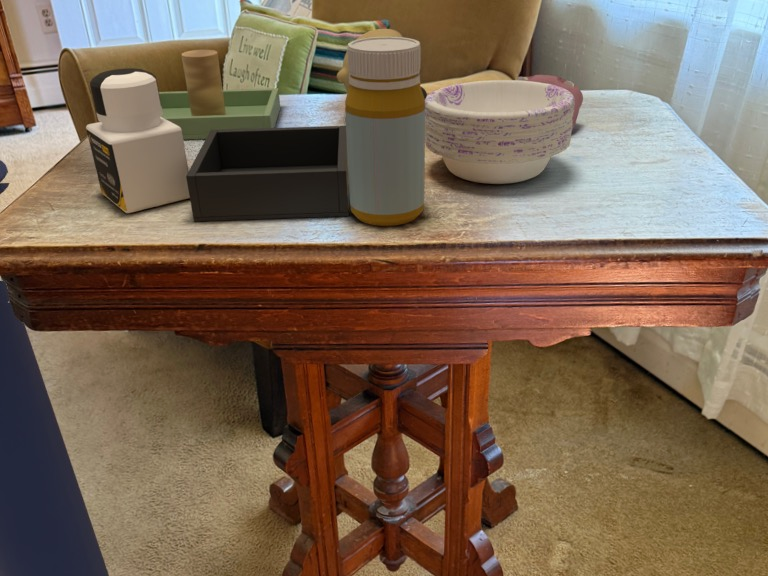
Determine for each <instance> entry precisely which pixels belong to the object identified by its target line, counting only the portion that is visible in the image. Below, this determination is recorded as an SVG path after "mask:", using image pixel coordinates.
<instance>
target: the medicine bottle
mask: <svg viewBox="0 0 768 576" xmlns="http://www.w3.org/2000/svg"><path fill="white" fill-rule="evenodd" d="M89 87H90V93H91V95H92V101H93V104H94V109H95V112H96V113H95V114H96V118H97V120H98V121H97V122H93V123H89V124H87V125H86V126H85V131H86V134H87V139H88V142H89V147H90V151H91V155H92V159H93V163H94V167H95V171H96V175H97V179H98V183H99V187H100V192H101V194H102V195H103V196H104V197H106V199H108V200H109V201H111V202H112V204H114V205H115V206H117V207H118V208H119V209H120V210H122V211H123V212H124V213H125V214H132V213H135V212H139V211H140V212H141V211H143V210H147V209H151V208H154V207H155V208H156V207H160V206H164V205H168V204H172V203H176V202H180V201H184V200H187V199H190V196H189V190H188V185H187V179H186V175H187V174H188V172H189V170H190V168H189V163H188V158H187V154H186V147H185V140H183V135H182V130H181V128H180V127H179V126H177V125H175V124H173V123H172V122H170V121H168V120H166V119H164V118H162V117H160V116H162V114H163V112H162V106H161V101H160V95H159V92H160V90H159V85H158V80H157V77H156V75H154V73H152V72H150V71H148V70H145V69H142V68H136V67H135V68H134V67H133V68H132V67H130V68H128V67H127V68H116V69H109V70H106V71H103V72H99V73H98V74H96V75H95V76H94V77H93V78H91V80H90V82H89Z"/></svg>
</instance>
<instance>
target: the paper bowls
mask: <svg viewBox="0 0 768 576" xmlns="http://www.w3.org/2000/svg"><path fill="white" fill-rule="evenodd" d="M574 105H575V103H574V96H573V95H572V93H571V92H569V91H568V90H566V89H564V88H562V87H559V86H555V85H551V84H546V83H539V82H532V81H520V80H516V79H515V80H513V79H492V80H490V79H489V80H479V81H478V80H476V81H468V82H461V83H456V84H450V85H447V86H443V87H441V88H438V89H436V90H433V91H432V92H430V93H427V97H426V99H425V147H426V148H427V149H428V150H429V151H430V152H431V153H433V154H435V155H437V156H440V157H441V159H442V160H443V163H444V165H445V166H446V168H447V169H448V171H449V172H450V173H451V174H453V175H454V176H456V177H457V178H459V179H462V180H464V181H465V180H466V181H470V182H473V183H480V184H486V185H487V184H491V185H502V184H504V185H505V184H514V183H515V184H516V183H520V182H525V181H529V180H530V179H531V180H532V179H533V178H535V177H537V176H539V175H540V174H541V173H542V172H543V171H544V170H545V169H546V168H547V165H548V164H549V162H550V160H551V158H552V157H553V156H556V155H559V154H561V153H563V152H564V151H565V150H567V149H568V148H569V147H570V145H571V140H572V132H573V129H572V118H573V112H574Z"/></svg>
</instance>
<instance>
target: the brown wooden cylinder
mask: <svg viewBox="0 0 768 576" xmlns="http://www.w3.org/2000/svg"><path fill="white" fill-rule="evenodd" d="M181 60H182V67H183V72H184V79H185V85H186V91H187V92H188V98H189V104H190V110H191V116H213V115H226V111H225V104H224V97H223V90H224V89H223V84H222V77H221V76H222V75H221V70H220V69H221V68H220V62H219V61H220V60H219V54H218V51H217V50H214V49H193V50H192V49H191V50H187V51H184V52H182V53H181Z"/></svg>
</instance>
